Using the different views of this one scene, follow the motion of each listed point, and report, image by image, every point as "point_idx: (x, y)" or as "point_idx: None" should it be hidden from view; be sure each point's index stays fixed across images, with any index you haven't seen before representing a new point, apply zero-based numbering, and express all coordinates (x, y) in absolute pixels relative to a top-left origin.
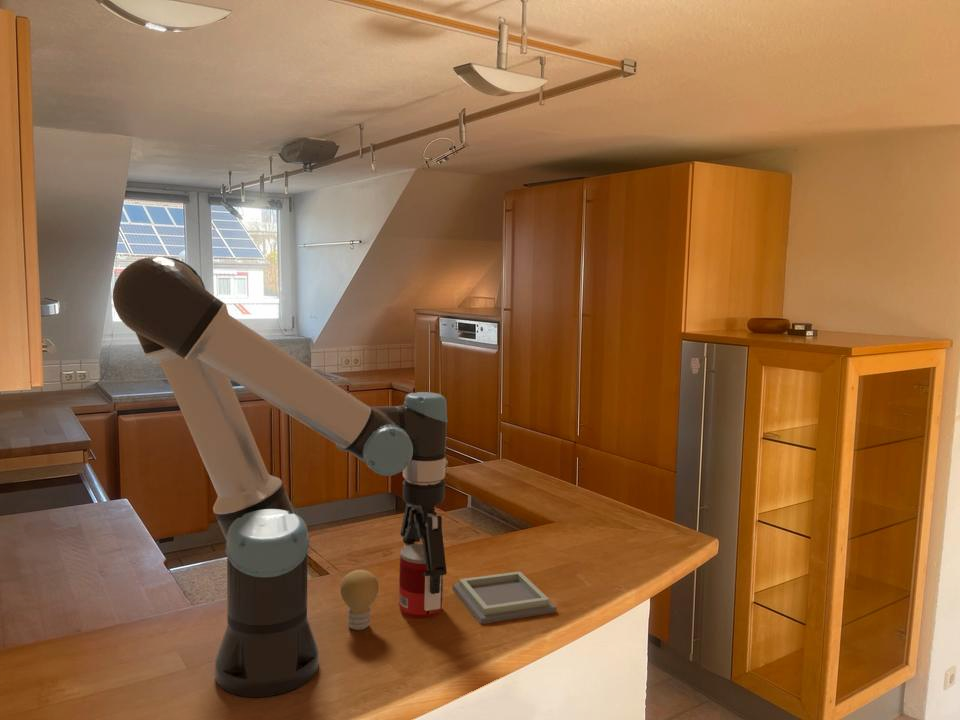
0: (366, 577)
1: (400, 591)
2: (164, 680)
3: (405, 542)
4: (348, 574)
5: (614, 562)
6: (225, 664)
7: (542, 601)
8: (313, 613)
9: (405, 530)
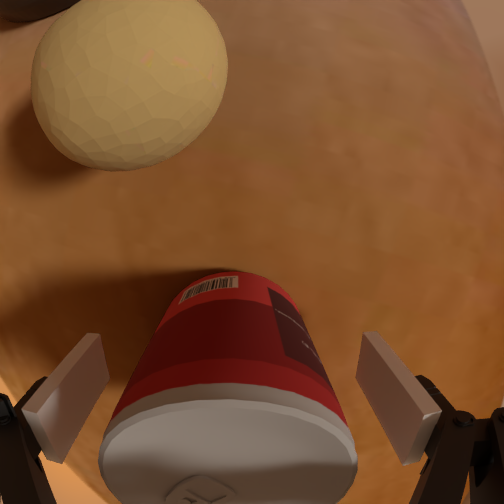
0: (42, 87)
1: (225, 292)
2: None
3: (444, 423)
4: None
5: None
6: None
7: None
8: (305, 9)
9: (493, 452)
